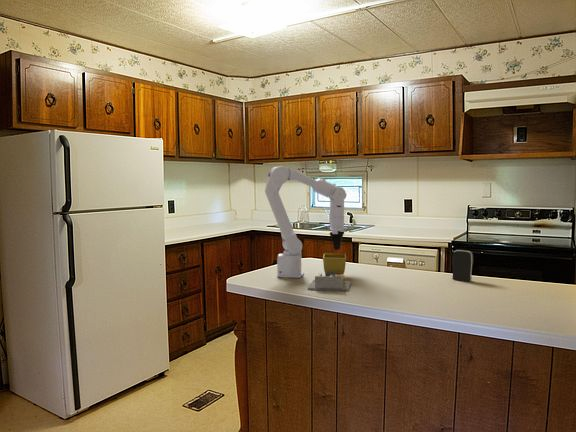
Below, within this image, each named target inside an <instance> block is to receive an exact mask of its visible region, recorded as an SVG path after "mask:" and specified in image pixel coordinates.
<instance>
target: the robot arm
mask: <svg viewBox="0 0 576 432" xmlns="http://www.w3.org/2000/svg"><path fill="white" fill-rule="evenodd" d="M287 181H296V182H298V183H301V184H304V185H306V186H308V187H310V188H312V190H313V192H315V193H316V194H319V195H321V196H322V197H323V196H324V197H326V198H328V199H329V201H330V202H329V230H331V232H329V235H330V238H331V241H332V245H333V246H332V247H333V250H335V251H339V250H340V249H341V246H342V245H341V244H342V239H343V236H344V234H345V231H344V230H347V229H348V227H347V226H345V200H346V198H347V192H346V190H345V189H344V187H341V186H337V184H336V183H331V182H329V181H327V179H326V178H324V177H323V178H317V179H315V178H312V177H310V176H308V175H306V174H304V173H302V172H300V171H298V170H295V169H293V168H289V167H286V166H284V165H280V166H273V167H272V168H271V169H270V170H269V172H268V173H267V175H266V183H265V187H264V188H265V189H264V192H265V196H266V199H267V200H268V203H269V206H270V208H271V211H272V213H273V216H274V218H275V221H276V223H277V226H278V229H279V231H280V235H281V239H282V244H281V245H282V247H283V249H284V250H283V252H282V253H278V254H277V259H276V261H277V263H276V265H277V266H276V267H277V269H276V271H277V275H276V277H278V278H296V279H297V278H298V279H300V278H301V277H303V275H304V274H305V273H304V272H303V271H302V250H303V243H302V241H301V240H300V239H299V237H298V236H297V234H296V232H295V231H294V229H293V227H292V224H291V221H290V218H289V216H288V214H287V210H286V209H285V205H284V203H283V201H282V199H281V195H280V193H279V192H280V191H281V188H282V186H283V185H284V184H285V183H286V182H287Z"/></svg>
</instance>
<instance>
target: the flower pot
mask: <svg viewBox="0 0 576 432" xmlns="http://www.w3.org/2000/svg"><path fill="white" fill-rule="evenodd" d="M346 261H347V255H346V253H323V256H322V263H323V271H324V272H325V271H336V272H339V275H341V274H344V275H345V270H346V264H347V263H346Z"/></svg>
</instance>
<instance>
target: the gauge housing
mask: <svg viewBox="0 0 576 432" xmlns="http://www.w3.org/2000/svg"><path fill="white" fill-rule="evenodd" d="M341 275H345V273H344V274H341ZM344 278H345V277H329V276H325V275H323V273H321V272H319V273H318V274H317V275H314V279H313V280H312V281H311V283H310V284H309V285H308V287H307V290H308V291H322V292H323V291H324V292H344V293H345V292H346V293H347V292H349V291H350V287H351V283H352V282H351V281H350V280H347V281H346V280H344Z"/></svg>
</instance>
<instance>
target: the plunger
mask: <svg viewBox="0 0 576 432" xmlns="http://www.w3.org/2000/svg"><path fill="white" fill-rule="evenodd" d="M324 276H329V277H344V278H345V277H346V275H345V274H344V275H339V272H336V271H324Z"/></svg>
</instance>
